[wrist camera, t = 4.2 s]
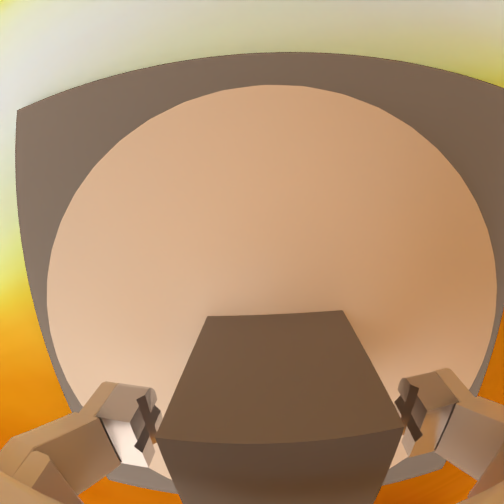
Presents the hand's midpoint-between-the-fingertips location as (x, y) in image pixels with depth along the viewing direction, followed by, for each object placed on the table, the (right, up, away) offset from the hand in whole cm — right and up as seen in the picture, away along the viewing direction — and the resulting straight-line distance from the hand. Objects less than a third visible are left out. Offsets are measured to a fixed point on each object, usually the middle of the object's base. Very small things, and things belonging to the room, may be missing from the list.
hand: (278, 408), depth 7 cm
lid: (0, +1, +3) cm, 3 cm away
